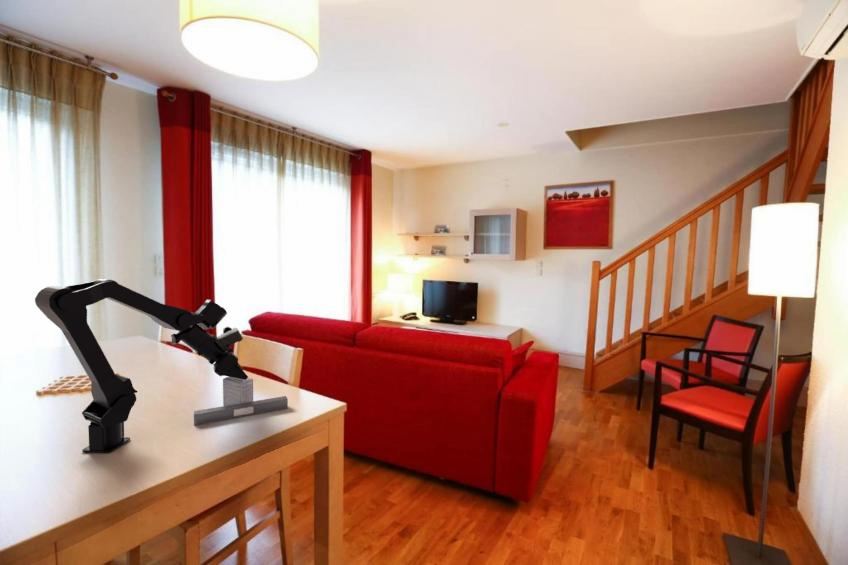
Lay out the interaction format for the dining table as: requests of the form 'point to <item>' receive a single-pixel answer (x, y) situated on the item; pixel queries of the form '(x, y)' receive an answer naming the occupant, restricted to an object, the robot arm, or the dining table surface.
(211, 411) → the rail
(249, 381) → the medicine box
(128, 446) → the dining table surface
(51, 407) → the dining table surface
